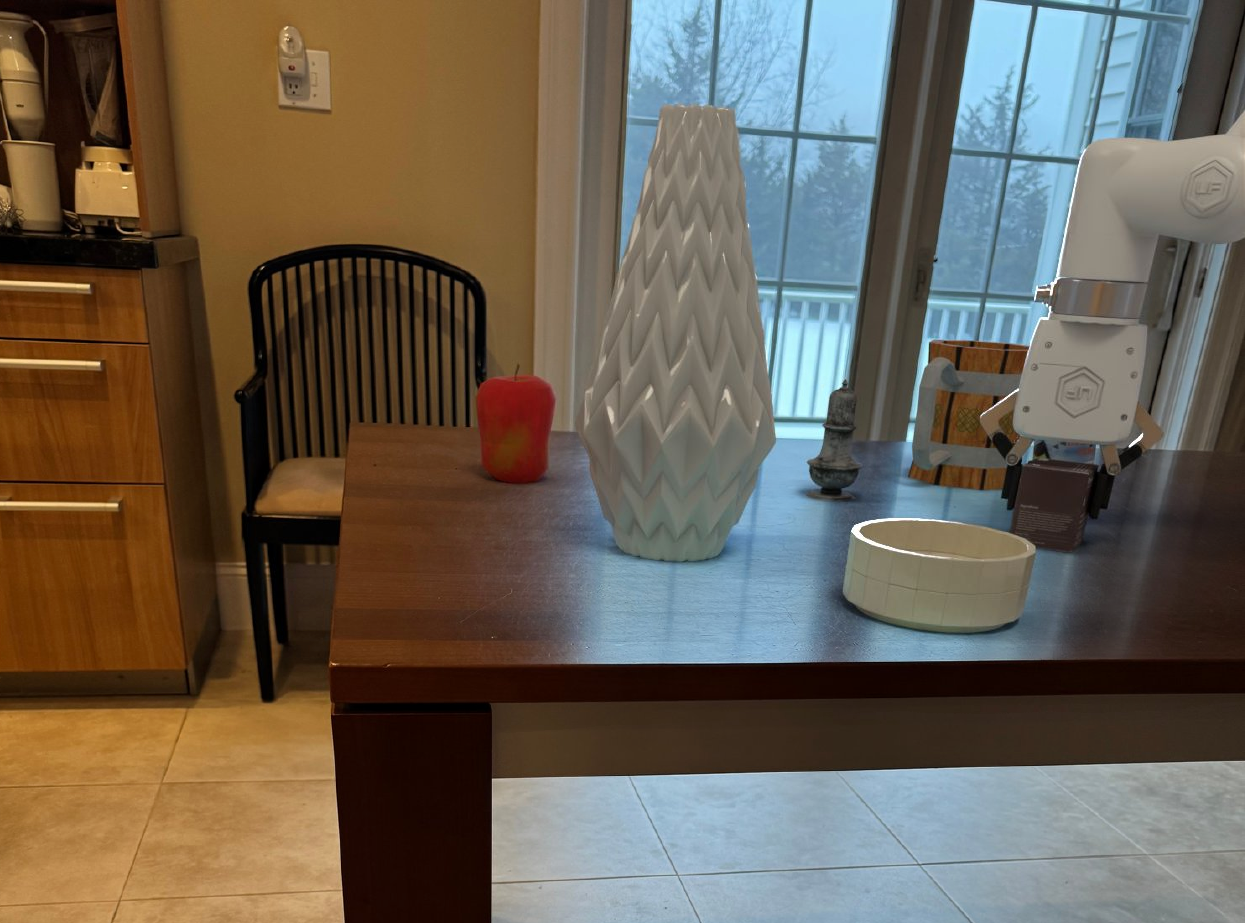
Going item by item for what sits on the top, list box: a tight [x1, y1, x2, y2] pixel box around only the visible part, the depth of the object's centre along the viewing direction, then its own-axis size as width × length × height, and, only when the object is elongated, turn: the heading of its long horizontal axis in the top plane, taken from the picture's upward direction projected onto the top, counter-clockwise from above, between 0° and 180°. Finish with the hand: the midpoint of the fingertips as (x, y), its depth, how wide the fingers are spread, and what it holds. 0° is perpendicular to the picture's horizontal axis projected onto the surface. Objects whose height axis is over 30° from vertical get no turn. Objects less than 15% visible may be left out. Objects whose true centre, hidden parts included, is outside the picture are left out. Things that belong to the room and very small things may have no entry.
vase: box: [574, 103, 777, 563], centre depth 94 cm, size 17×17×33 cm
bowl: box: [842, 517, 1037, 634], centre depth 87 cm, size 13×13×6 cm
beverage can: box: [1031, 439, 1097, 464], centre depth 120 cm, size 6×7×12 cm
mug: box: [907, 339, 1030, 491], centre depth 135 cm, size 20×14×15 cm
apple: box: [474, 363, 557, 484], centre depth 124 cm, size 9×8×12 cm
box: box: [1008, 458, 1100, 554], centre depth 110 cm, size 6×6×7 cm
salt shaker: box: [805, 378, 863, 502], centre depth 124 cm, size 6×6×12 cm
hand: (1051, 510), depth 110 cm, fingers closed on box, 6 cm apart
